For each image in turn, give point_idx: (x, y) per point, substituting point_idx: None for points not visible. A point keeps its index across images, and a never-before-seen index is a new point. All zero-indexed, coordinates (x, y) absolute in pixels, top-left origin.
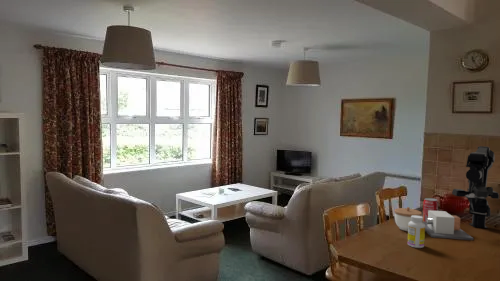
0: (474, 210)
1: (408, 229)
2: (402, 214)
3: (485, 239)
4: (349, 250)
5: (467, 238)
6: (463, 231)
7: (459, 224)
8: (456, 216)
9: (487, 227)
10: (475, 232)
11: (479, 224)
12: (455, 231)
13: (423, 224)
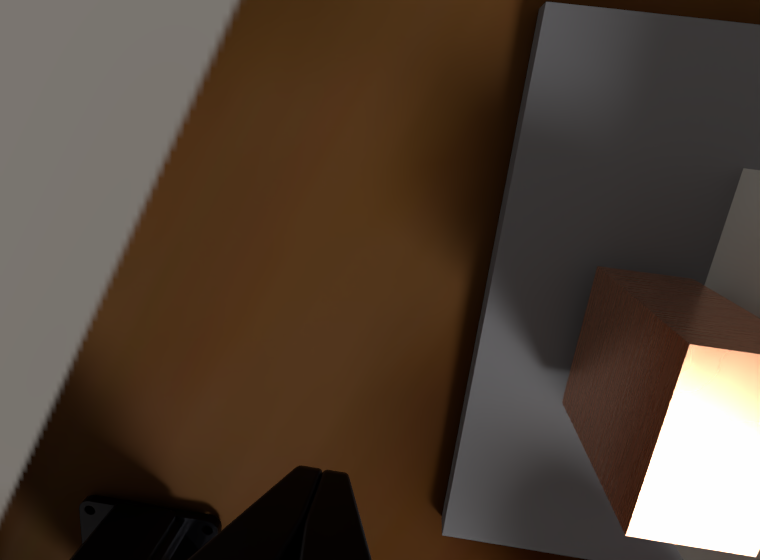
0: (325, 484)
1: None
2: None
3: (333, 73)
4: None
5: (625, 14)
6: (493, 312)
7: (642, 296)
8: (672, 474)
9: (87, 501)
10: (304, 355)
11: (158, 531)
12: None
13: None
